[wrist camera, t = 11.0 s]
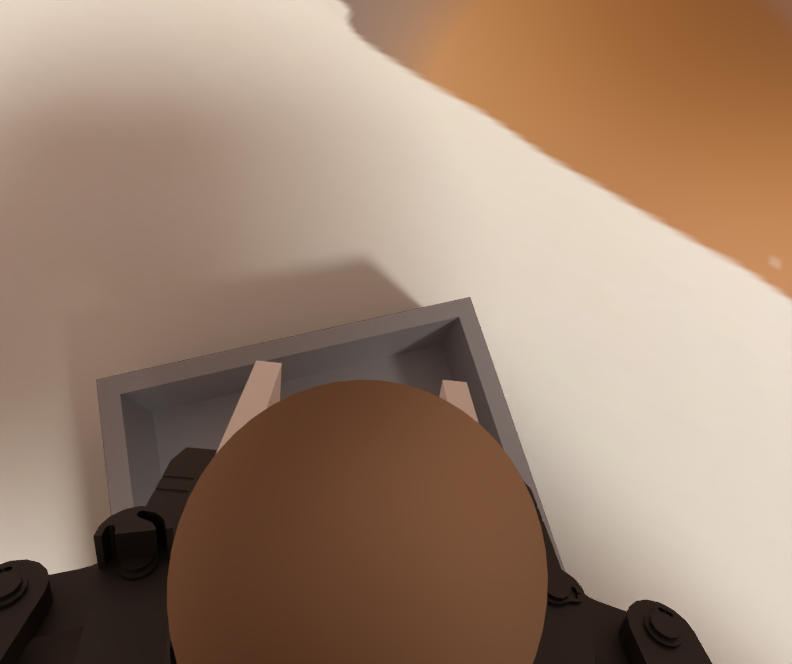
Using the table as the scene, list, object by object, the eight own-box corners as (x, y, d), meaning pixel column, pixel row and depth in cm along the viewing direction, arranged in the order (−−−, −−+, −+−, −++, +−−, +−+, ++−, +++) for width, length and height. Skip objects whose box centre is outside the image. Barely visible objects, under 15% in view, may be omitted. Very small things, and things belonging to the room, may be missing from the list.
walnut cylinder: (418, 465, 19) (543, 397, 8) (409, 617, 17) (553, 805, 6) (281, 453, 19) (209, 363, 8) (258, 608, 17) (121, 791, 6)
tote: (447, 331, 35) (469, 296, 30) (552, 654, 30) (604, 687, 24) (138, 403, 31) (96, 379, 26) (189, 792, 26) (149, 870, 20)
